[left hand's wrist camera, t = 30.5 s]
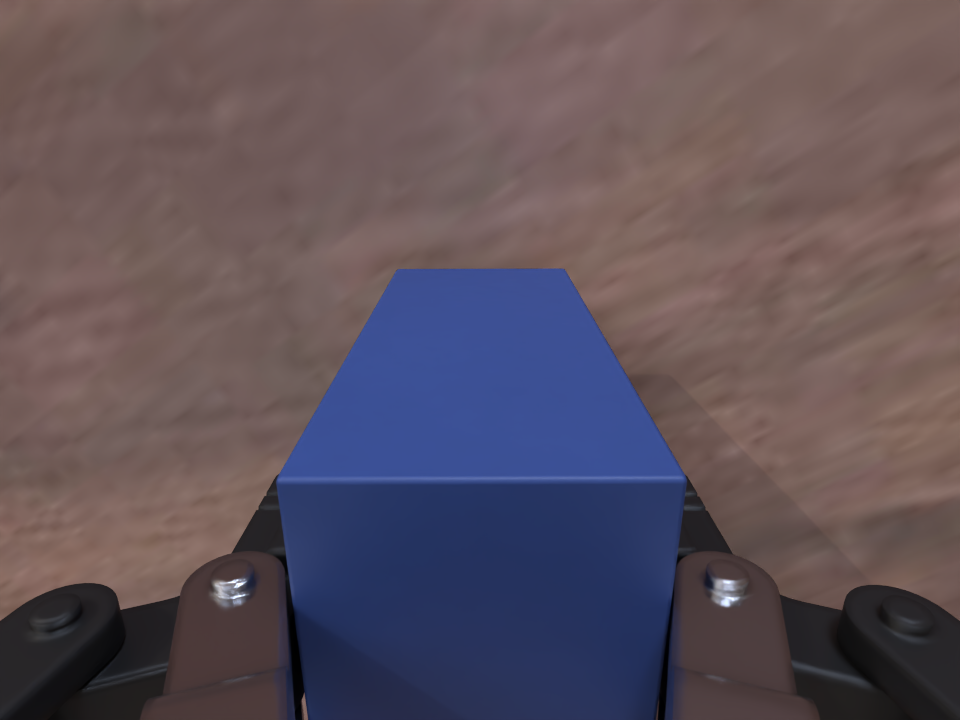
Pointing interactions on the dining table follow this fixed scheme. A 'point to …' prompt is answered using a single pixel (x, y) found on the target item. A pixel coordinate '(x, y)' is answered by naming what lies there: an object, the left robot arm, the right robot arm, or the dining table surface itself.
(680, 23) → the dining table surface
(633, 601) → the brick
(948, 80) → the dining table surface
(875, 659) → the left robot arm
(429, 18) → the dining table surface
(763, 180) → the dining table surface
